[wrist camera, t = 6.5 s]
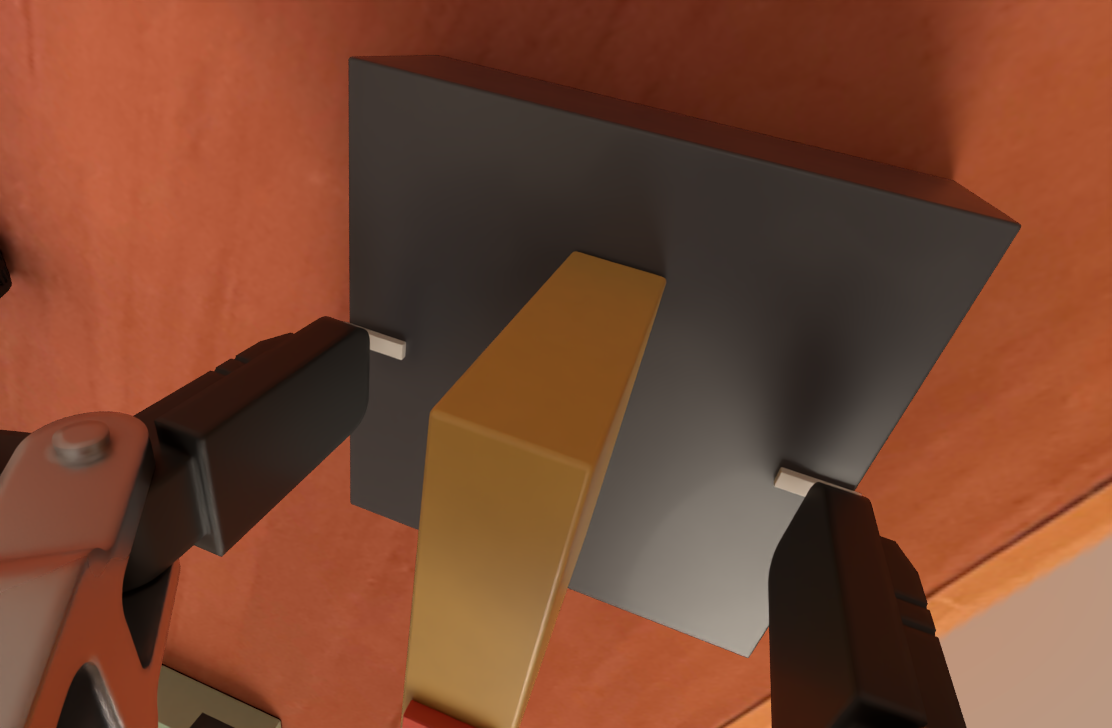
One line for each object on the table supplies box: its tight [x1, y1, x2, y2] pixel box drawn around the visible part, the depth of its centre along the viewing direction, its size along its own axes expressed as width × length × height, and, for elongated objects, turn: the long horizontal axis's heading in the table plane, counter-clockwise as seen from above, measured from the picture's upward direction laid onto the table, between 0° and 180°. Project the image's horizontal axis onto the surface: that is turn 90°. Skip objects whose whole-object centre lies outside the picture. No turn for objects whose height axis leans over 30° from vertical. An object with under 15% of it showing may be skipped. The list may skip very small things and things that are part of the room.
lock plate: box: [346, 55, 1021, 658], centre depth 12 cm, size 10×10×3 cm
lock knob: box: [401, 251, 666, 728], centre depth 9 cm, size 6×2×5 cm, turn 169°
